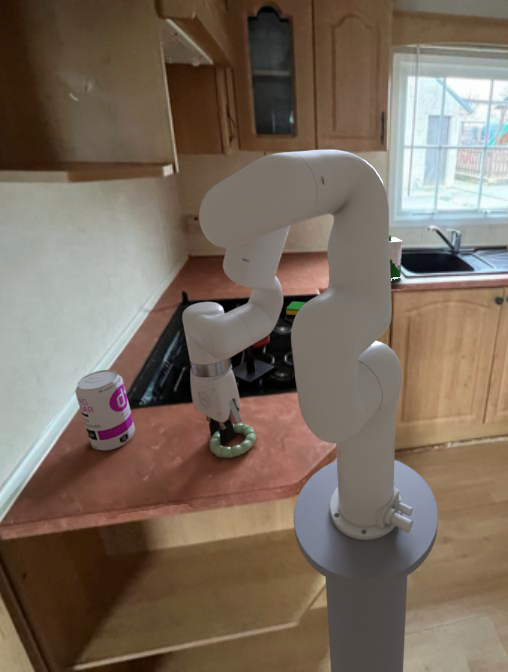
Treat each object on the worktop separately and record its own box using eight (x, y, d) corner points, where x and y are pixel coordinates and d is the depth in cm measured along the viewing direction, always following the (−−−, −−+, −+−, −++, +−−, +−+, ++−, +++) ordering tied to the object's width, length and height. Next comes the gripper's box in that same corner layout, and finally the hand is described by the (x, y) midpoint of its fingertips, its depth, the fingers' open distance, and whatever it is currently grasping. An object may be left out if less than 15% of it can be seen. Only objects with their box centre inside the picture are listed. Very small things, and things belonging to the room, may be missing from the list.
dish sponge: (293, 307, 155) (292, 301, 154) (328, 309, 152) (328, 303, 151) (285, 314, 148) (285, 308, 147) (322, 317, 146) (322, 311, 145)
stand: (275, 370, 113) (271, 327, 109) (250, 386, 106) (244, 340, 102) (252, 361, 118) (248, 319, 113) (227, 375, 111) (221, 331, 106)
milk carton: (377, 276, 187) (377, 233, 180) (395, 274, 190) (396, 232, 183) (385, 283, 179) (385, 238, 172) (403, 280, 182) (405, 236, 175)
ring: (265, 439, 88) (264, 431, 87) (230, 466, 81) (229, 458, 80) (236, 423, 93) (235, 416, 92) (201, 448, 85) (199, 440, 85)
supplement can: (143, 426, 92) (129, 368, 87) (121, 453, 84) (104, 391, 79) (107, 425, 92) (91, 367, 87) (82, 452, 84) (63, 390, 79)
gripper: (170, 360, 83) (184, 433, 90) (222, 384, 75) (234, 463, 81) (202, 345, 89) (213, 415, 95) (253, 366, 81) (262, 441, 87)
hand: (223, 436), depth 88 cm, fingers closed on ring, 2 cm apart
